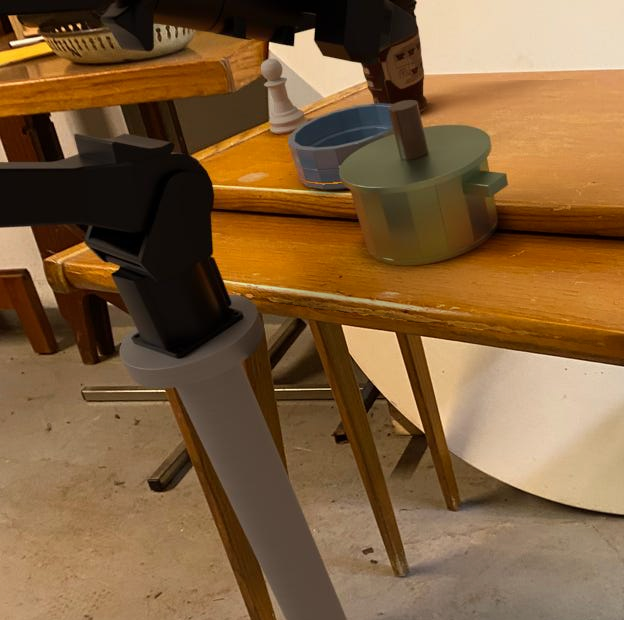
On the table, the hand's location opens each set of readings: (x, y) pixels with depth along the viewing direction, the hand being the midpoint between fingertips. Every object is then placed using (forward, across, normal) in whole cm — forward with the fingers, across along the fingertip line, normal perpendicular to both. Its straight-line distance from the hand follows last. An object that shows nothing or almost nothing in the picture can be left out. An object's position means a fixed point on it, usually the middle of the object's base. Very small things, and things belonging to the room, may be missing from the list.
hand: (375, 19), depth 74 cm
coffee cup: (+25, +23, +9) cm, 35 cm away
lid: (+1, -5, +10) cm, 11 cm away
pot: (+4, -6, +16) cm, 17 cm away
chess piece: (+18, +35, +13) cm, 41 cm away
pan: (+12, +14, +14) cm, 23 cm away
